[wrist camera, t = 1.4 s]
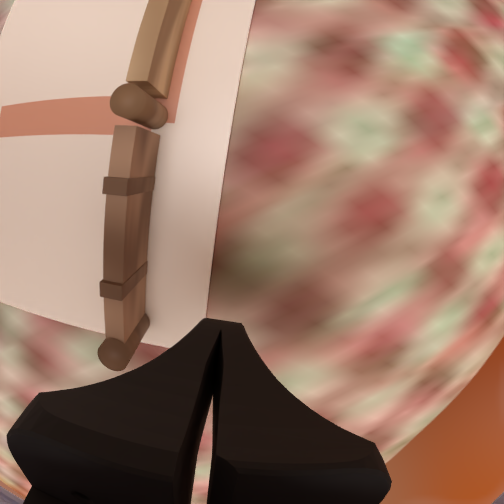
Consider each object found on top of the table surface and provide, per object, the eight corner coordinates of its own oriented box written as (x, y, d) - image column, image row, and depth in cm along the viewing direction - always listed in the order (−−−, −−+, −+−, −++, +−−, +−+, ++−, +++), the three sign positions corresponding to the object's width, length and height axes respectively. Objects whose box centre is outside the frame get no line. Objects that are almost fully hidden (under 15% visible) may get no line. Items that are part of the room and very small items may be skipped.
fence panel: (136, 133, 14) (103, 123, 10) (165, 135, 14) (139, 124, 10) (124, 329, 17) (99, 366, 13) (149, 334, 17) (128, 374, 13)
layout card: (-19, 292, 17) (-22, 293, 16) (27, -21, 10) (25, -23, 10) (202, 350, 18) (201, 353, 17) (267, -52, 11) (267, -55, 11)
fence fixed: (139, 128, 14) (104, 116, 10) (189, -51, 11) (178, -90, 7) (167, 130, 14) (140, 116, 10) (214, -52, 11) (207, -92, 7)
